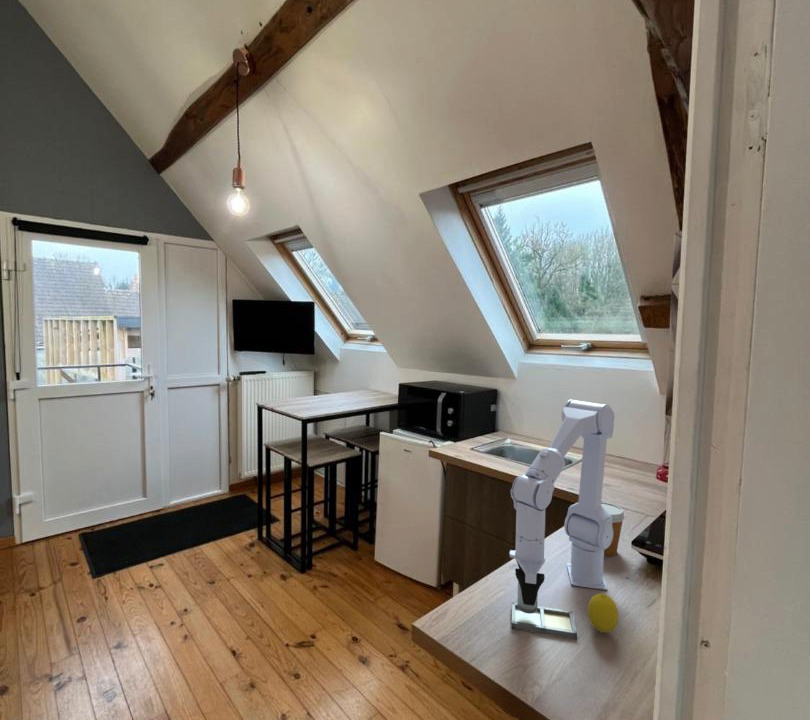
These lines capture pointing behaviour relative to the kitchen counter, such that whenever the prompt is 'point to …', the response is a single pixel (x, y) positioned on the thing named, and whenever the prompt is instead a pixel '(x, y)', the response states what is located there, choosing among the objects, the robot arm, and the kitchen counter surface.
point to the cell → (522, 606)
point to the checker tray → (545, 621)
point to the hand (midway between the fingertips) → (528, 597)
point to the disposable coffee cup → (614, 526)
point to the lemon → (603, 613)
